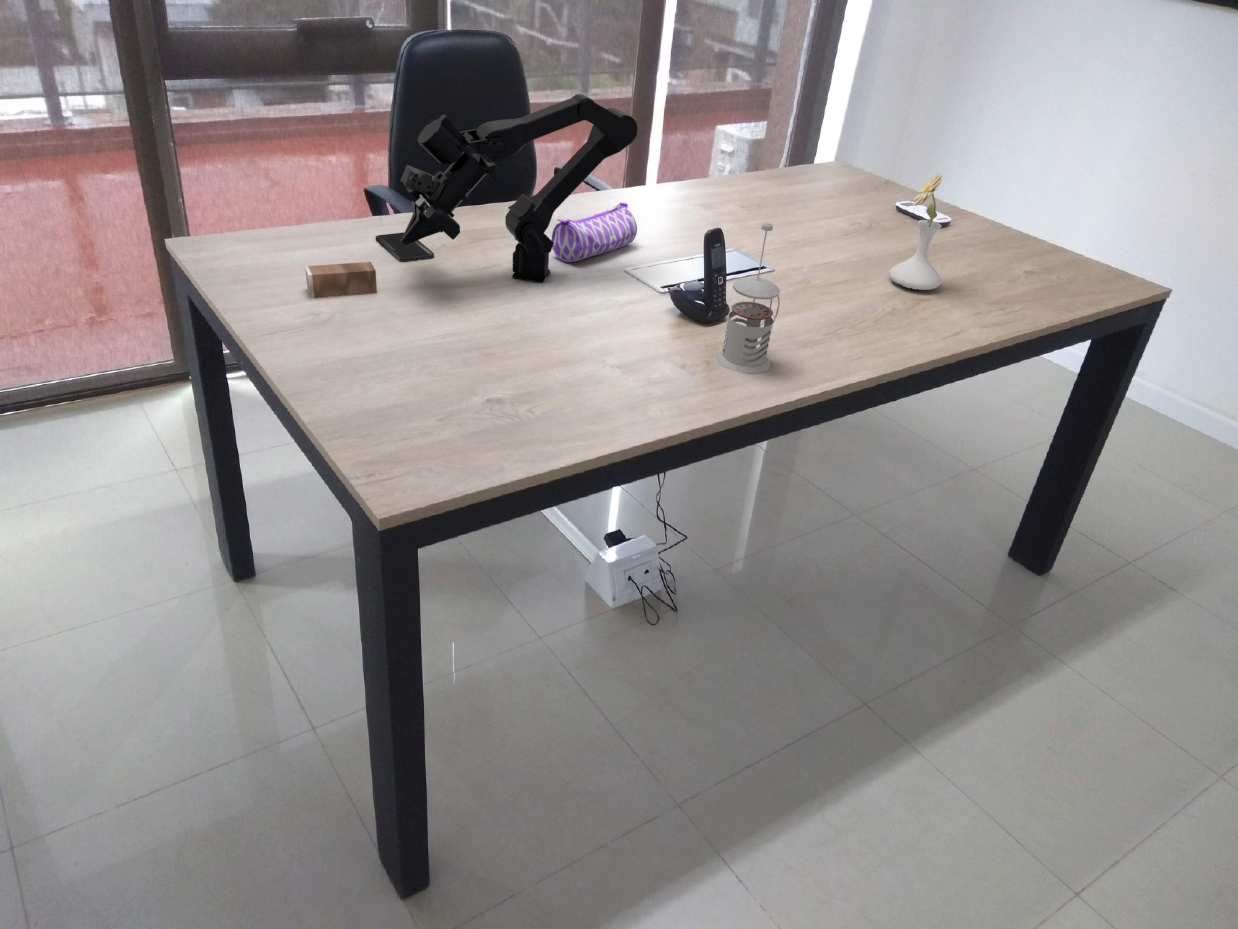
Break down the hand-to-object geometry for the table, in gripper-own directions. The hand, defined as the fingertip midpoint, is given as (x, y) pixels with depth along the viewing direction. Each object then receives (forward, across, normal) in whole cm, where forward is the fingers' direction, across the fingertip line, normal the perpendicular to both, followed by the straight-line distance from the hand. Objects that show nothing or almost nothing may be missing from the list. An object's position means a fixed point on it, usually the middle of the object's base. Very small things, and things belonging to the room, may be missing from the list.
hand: (403, 242), depth 172 cm
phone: (+4, -20, +10) cm, 22 cm away
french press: (-28, +45, +42) cm, 68 cm away
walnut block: (+9, 0, 0) cm, 9 cm away
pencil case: (-24, -10, +38) cm, 46 cm away
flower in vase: (-68, +22, +83) cm, 109 cm away
